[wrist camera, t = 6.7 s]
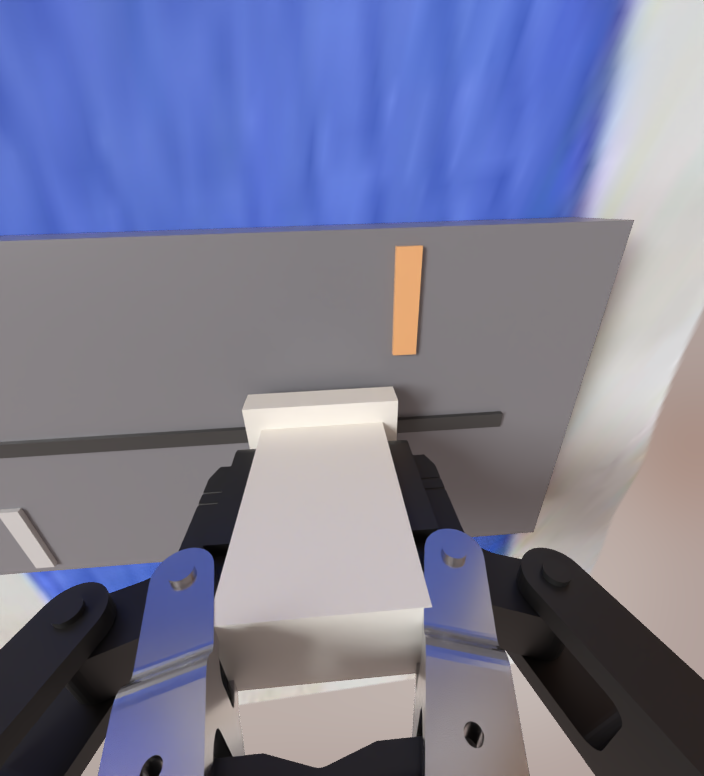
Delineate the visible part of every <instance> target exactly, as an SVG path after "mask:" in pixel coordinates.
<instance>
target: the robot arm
mask: <svg viewBox="0 0 704 776" xmlns="http://www.w3.org/2000/svg"><path fill="white" fill-rule="evenodd" d="M388 445H389V448H390V452H391V456H392V460H393V463H394V467H395V471H396V474H397V478H398V482H399V486H400V489H401V493H402V497H403V500H404V504H405V508H406V511H407V515H408V519H409V523H410V526H411V530H412V534H413V537H414V541H415V545H416V549H417V552H418V556H419V560H420V563H421V567H422V571H423V575H424V578H425V582H426V586H427V589H428V593H429V597H430V601H431V604H432V607H428V608H424V611H423V619H422V648H421V662H419V663H417V664H416V672H415V697H414V698H415V699H414V713H413V732H412V737H410V738H401V739H391V740H383V741H376V742H374V743H372V744H370V745H368V746H366V747H364V748H362V749H360V750H358V751H356V752H354V753H352V754H350V755H348V756H346V757H344V758H342V759H340V760H338V761H336V762H334V763H332V764H330V765H328V766H325V767H323V768H314V767H311V766H307V765H303V764H299V763H296V762H292V761H289V760H285V759H281V758H278V757H274V756H271V755H267V754H253V755H245V752H244V743H243V735H242V729H241V725H240V716H239V703H238V690H237V687H236V684H235V682H234V680H231V681H228V679H227V677H226V674H225V672H224V669H223V667H222V664H221V662H220V659H219V639H218V636H217V634H216V631H215V628H214V598H215V595H216V591H217V587H218V584H219V580H220V577H221V573H222V570H223V566H224V562H225V559H226V555H227V552H228V548H229V545H230V541H231V537H232V534H233V530H234V527H235V523H236V519H237V516H238V512H239V509H240V505H241V502H242V498H243V494H244V491H245V487H246V484H247V480H248V477H249V473H250V469H251V466H252V462H253V459H254V455H255V451H256V449H244V450H237V451H236V453H235V456H234V459H233V462H232V465H231V466H228V467H220V468H219V469H218V470H217V471H216V472H215V473H214V474H213V475H212V476H211V477H210V478H209V480H208V482H207V485H206V487H205V489H204V492H203V495H202V496H201V499H200V501H199V506H197V508H196V511H195V513H194V515H193V518H192V520H191V523H190V525H189V527H188V530H187V532H186V534H185V537H184V539H183V542H182V544H181V546H180V549H179V551H178V552H176V553H174V554H172V555H171V556H169V557H168V558H167V559H165V560H164V561H163V562H162V563H161V564H160V565H159V566H158V567H157V568H156V570H155V571H154V573H153V574H152V577H151V578H149V579H147V580H145V581H142V582H140V583H137V584H134V585H132V586H129V587H126V588H123V589H120V590H118V591H115V592H112V593H109V592H108V591H107V589H106V587H105V586H103V585H102V584H100V583H95V582H88V583H83V584H79V585H76V586H74V587H71V588H69V589H67V590H65V591H64V592H62V593H60V594H59V595H57V596H56V597H55V598H53V599H52V600H51V601H50V602H48V603H47V604H46V605H45V606H44V607H43V608H42V609H41V610H40V611H39V612H38V613H37V614H36V615H35V616H34V617H33V618H32V619H31V620H30V621H29V622H28V623H27V624H26V625H25V626H24V627H23V628H22V629H21V630H20V631H19V632H18V633H17V634H16V635H15V636H14V637H13V638H12V639H11V640H10V641H9V642H8V643H7V644H6V645H5V646H4V647H3V648H2V649H0V776H81V774H82V773H83V771H84V770H85V768H86V767H87V765H88V764H89V762H90V761H91V759H92V757H93V756H94V754H95V753H96V751H97V750H98V748H99V747H100V745H101V744H102V742H103V740H104V739H105V738H106V739H105V743H104V748H103V753H102V758H101V763H100V767H99V772H98V776H530V774H529V768H528V763H527V758H526V752H525V746H524V740H523V735H522V729H521V723H520V718H519V712H518V707H517V701H516V695H515V690H514V684H513V678H512V673H511V668H510V664H509V660H508V657H507V654H506V652H505V650H506V651H507V653H508V654H509V656H510V657H511V659H512V660H513V661H514V663H515V664H516V665H517V667H518V668H519V670H520V671H521V672H522V674H523V675H524V677H525V678H526V679H527V681H528V682H529V684H530V685H531V686H532V688H533V689H534V691H535V692H536V693H537V695H538V696H539V698H540V699H541V700H542V702H543V703H544V705H545V706H546V707H547V709H548V710H549V712H550V713H551V714H552V716H553V717H554V719H555V720H556V721H557V723H558V724H559V726H560V727H561V728H562V730H563V731H564V732H565V734H566V735H567V737H568V738H569V739H570V741H571V742H572V744H573V745H574V746H575V748H576V749H577V750H578V752H579V753H580V754H581V756H582V758H583V759H584V760H585V762H586V763H587V765H588V766H589V767H590V769H591V770H592V772H593V773H594V774H595V776H704V680H703V679H702V678H701V677H700V676H699V675H698V674H697V673H696V672H695V671H694V670H692V669H691V668H690V667H689V666H688V665H687V664H686V663H685V662H684V661H683V660H681V659H680V658H679V657H678V656H677V655H676V654H675V653H674V652H672V650H671V649H669V648H668V647H667V646H666V645H665V644H664V643H663V642H662V641H660V639H658V638H657V637H656V636H655V635H654V634H653V633H652V632H651V631H650V630H649V629H648V628H647V627H645V626H644V625H643V624H642V623H641V622H640V621H639V620H638V619H637V618H636V617H634V616H633V615H632V614H631V613H630V612H629V611H628V610H627V609H626V608H625V607H624V606H622V605H621V604H620V603H619V602H618V601H617V600H616V599H615V598H614V597H613V596H611V595H610V594H609V593H608V592H607V591H606V590H605V589H604V588H603V587H602V586H601V585H599V584H598V583H597V582H596V581H595V580H594V579H593V578H592V577H591V576H590V575H589V574H588V573H586V572H585V571H584V570H583V569H582V568H581V567H580V566H579V565H578V564H577V563H575V562H574V561H573V560H572V559H570V558H569V557H567V556H566V555H564V554H562V553H560V552H557V551H555V550H552V549H547V548H534V549H531V550H529V551H528V552H526V553H525V554H524V556H523V558H522V559H517V558H513V557H508V556H503V555H499V554H495V553H491V552H489V551H486V550H484V549H482V548H481V547H480V546H479V544H478V543H477V542H476V541H475V540H474V539H473V538H472V537H470V536H469V535H467V534H466V533H465V532H464V530H463V528H462V526H461V524H460V522H459V519H458V517H457V515H456V512H455V510H454V508H453V505H452V503H451V501H450V498H449V496H448V494H447V491H446V490H445V487H444V484H443V482H442V480H441V479H440V475H439V473H438V470H437V468H436V466H435V464H434V463H433V462H432V461H431V460H430V459H429V458H428V457H426V456H425V455H424V454H422V455H413V454H412V452H411V449H410V446H409V443H408V441H407V440H396V441H388Z"/></svg>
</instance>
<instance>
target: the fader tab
mask: <svg viewBox="0 0 704 776" xmlns="http://www.w3.org/2000/svg"><path fill="white" fill-rule="evenodd" d="M242 413H243V418H244V423H245V428H246V433H247V437H248V442H249V447H250V449H256V451H255V455H254V459H253V462H252V466H251V469H250V473H249V477H248V480H247V484H246V487H245V491H244V494H243V498H242V502H241V505H240V509H239V512H238V516H237V519H236V523H235V527H234V530H233V534H232V537H231V541H230V545H229V548H228V552H227V555H226V559H225V562H224V566H223V570H222V573H221V577H220V580H219V584H218V587H217V591H216V595H215V598H214V628H215V631H216V634H217V636H218V639H219V659H220V662H221V664H222V667H223V669H224V672H225V674H226V677H227V679H228V681H231V680H234V682H235V684H236V687H237V690H238V691H242V690H252V689H262V688H272V687H282V686H292V685H302V684H312V683H322V682H332V681H342V680H352V679H362V678H372V677H382V676H392V675H402V674H412V673H415V672H416V664H417V663H419V662H421V648H422V619H423V611H424V608H428V607H432V604H431V601H430V597H429V593H428V589H427V586H426V582H425V578H424V575H423V571H422V567H421V563H420V560H419V556H418V552H417V549H416V545H415V541H414V537H413V534H412V530H411V526H410V523H409V519H408V515H407V511H406V508H405V504H404V500H403V497H402V493H401V489H400V486H399V482H398V478H397V474H396V471H395V467H394V463H393V460H392V456H391V452H390V448H389V445H388V441H396V440H397V416H398V399H397V396H396V394H395V391H394V388H393V386H392V387H374V388H356V389H339V390H321V391H304V392H286V393H268V394H251V395H248V396H247V398H246V401H245V403H244V406H243V408H242Z"/></svg>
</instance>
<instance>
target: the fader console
mask: <svg viewBox="0 0 704 776" xmlns="http://www.w3.org/2000/svg"><path fill="white" fill-rule="evenodd" d="M633 222H634V220H621V219H600V218H578V217H564V218H533V219H502V220H471V221H441V222H410V223H379V224H348V225H317V226H287V227H256V228H225V229H194V230H163V231H132V232H102V233H71V234H40V235H9V236H0V575H4V574H16V573H28V572H41V571H53V570H66V569H78V568H91V567H103V566H116V565H128V564H141V563H153V562H163V561H164V560H165V559H167V558H168V557H169V556H171V555H172V554H174V553H176V552H178V551H179V549H180V546H181V544H182V542H183V539H184V537H185V534H186V532H187V530H188V527H189V525H190V523H191V520H192V518H193V515H194V513H195V511H196V508H197V506H199V501H200V499H201V496H202V495H203V492H204V489H205V487H206V485H207V482H208V480H209V478H210V477H211V476H212V475H213V474H214V473H215V472H216V471H217V470H218V469H219V468H220V467H228V466H231V465H232V462H233V459H234V456H235V453H236V451H237V450H244V449H250V447H249V442H248V437H247V433H246V428H245V423H244V418H243V413H242V408H243V406H244V403H245V401H246V398H247V396H248V395H251V394H268V393H286V392H304V391H321V390H339V389H356V388H374V387H392V386H393V388H394V391H395V394H396V396H397V399H398V416H397V440H407V441H408V443H409V446H410V449H411V452H412V454H413V455H422V454H424V455H425V456H426V457H428V458H429V459H430V460H431V461H432V462H433V463H434V464H435V466H436V468H437V470H438V473H439V475H440V479H441V480H442V482H443V484H444V487H445V490H446V491H447V494H448V496H449V498H450V501H451V503H452V505H453V508H454V510H455V512H456V515H457V517H458V519H459V522H460V524H461V526H462V528H463V530H464V532H465V533H466V534H467V535H469V536H470V537H478V536H490V535H503V534H515V533H528V532H534V528H535V525H536V522H537V519H538V516H539V513H540V510H541V507H542V504H543V501H544V497H545V494H546V491H547V488H548V485H549V482H550V479H551V476H552V473H553V470H554V466H555V463H556V460H557V457H558V454H559V451H560V448H561V445H562V442H563V439H564V436H565V432H566V429H567V426H568V423H569V420H570V417H571V414H572V411H573V408H574V405H575V401H576V398H577V395H578V392H579V389H580V386H581V383H582V380H583V377H584V374H585V370H586V367H587V364H588V361H589V358H590V355H591V352H592V349H593V346H594V343H595V340H596V336H597V333H598V330H599V327H600V324H601V321H602V318H603V315H604V312H605V309H606V305H607V302H608V299H609V296H610V293H611V290H612V287H613V284H614V281H615V278H616V274H617V271H618V268H619V265H620V262H621V259H622V256H623V253H624V250H625V247H626V243H627V240H628V237H629V234H630V231H631V228H632V225H633Z"/></svg>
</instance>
